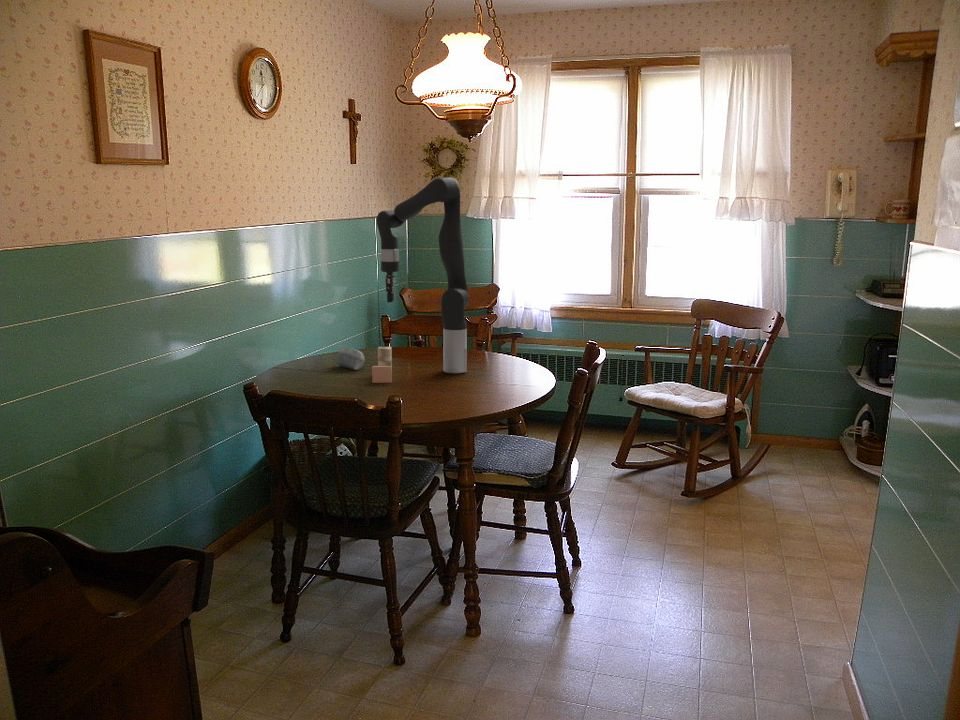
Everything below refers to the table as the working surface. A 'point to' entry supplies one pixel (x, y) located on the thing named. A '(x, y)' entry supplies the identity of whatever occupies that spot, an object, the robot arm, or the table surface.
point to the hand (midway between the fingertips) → (390, 301)
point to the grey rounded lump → (350, 358)
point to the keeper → (384, 356)
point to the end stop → (382, 374)
